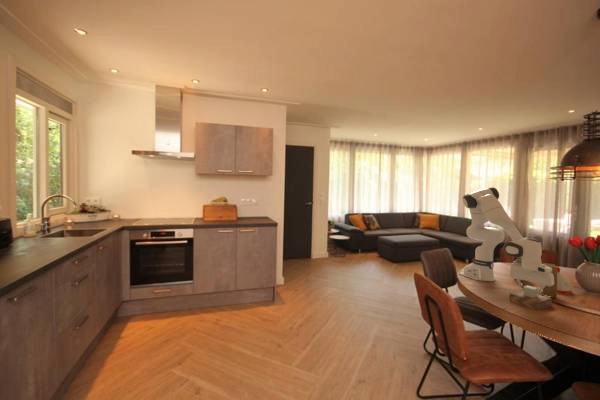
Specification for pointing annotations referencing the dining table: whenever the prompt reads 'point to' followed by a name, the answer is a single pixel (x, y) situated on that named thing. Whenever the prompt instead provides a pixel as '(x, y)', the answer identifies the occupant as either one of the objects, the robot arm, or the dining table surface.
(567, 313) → the dining table surface
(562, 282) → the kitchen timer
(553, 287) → the block
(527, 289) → the sage cube
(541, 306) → the walnut base block
